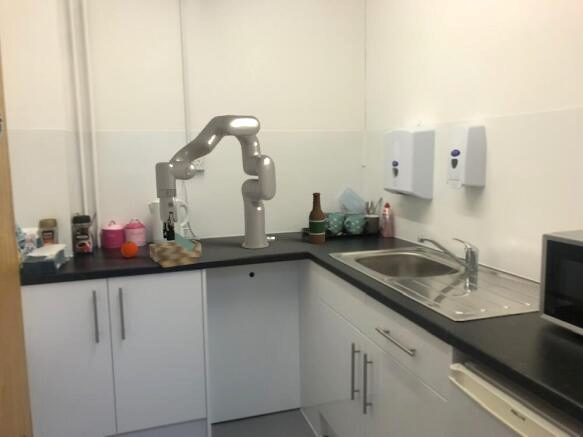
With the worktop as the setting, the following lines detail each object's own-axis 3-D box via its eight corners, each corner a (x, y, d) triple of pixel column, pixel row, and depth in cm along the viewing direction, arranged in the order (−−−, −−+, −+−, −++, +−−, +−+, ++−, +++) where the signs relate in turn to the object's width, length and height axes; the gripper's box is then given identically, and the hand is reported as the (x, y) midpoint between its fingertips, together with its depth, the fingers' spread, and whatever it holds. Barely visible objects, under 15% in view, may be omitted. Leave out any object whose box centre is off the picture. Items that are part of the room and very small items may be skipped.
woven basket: (193, 251, 210) (193, 239, 209) (201, 256, 200) (201, 243, 199) (150, 256, 200) (149, 244, 200) (156, 262, 190) (155, 249, 190)
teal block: (188, 249, 193) (192, 242, 193) (191, 251, 189) (195, 244, 189) (163, 234, 187) (168, 227, 188) (166, 235, 183) (171, 229, 184)
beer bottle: (309, 240, 230) (309, 192, 226) (325, 240, 229) (325, 192, 225) (308, 243, 222) (307, 193, 219) (324, 243, 221) (324, 193, 218)
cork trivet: (191, 258, 196) (191, 256, 196) (198, 262, 188) (198, 261, 188) (158, 262, 190) (158, 261, 189) (163, 267, 182) (163, 265, 182)
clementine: (124, 255, 204) (123, 239, 203) (140, 254, 205) (139, 239, 204) (119, 259, 196) (118, 243, 195) (136, 259, 197) (135, 242, 196)
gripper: (182, 194, 178) (184, 241, 180) (170, 191, 192) (173, 235, 195) (162, 196, 174) (164, 243, 177) (152, 192, 189) (154, 236, 192)
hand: (169, 238), depth 186 cm, fingers closed on teal block, 4 cm apart
